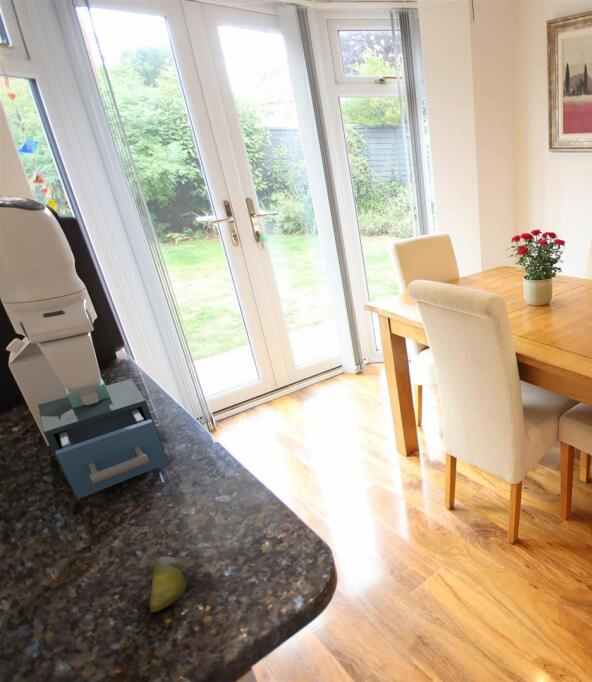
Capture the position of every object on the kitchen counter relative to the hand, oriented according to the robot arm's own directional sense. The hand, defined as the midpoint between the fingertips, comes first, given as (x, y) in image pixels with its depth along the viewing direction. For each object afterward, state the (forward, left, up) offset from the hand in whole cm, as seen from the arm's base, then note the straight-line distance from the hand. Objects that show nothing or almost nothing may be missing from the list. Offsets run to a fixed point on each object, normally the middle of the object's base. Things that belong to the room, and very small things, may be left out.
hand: (89, 397), depth 72 cm
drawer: (+5, -10, -9) cm, 14 cm away
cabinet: (+1, -1, -9) cm, 10 cm away
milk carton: (-9, +9, -10) cm, 16 cm away
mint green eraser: (0, 0, 0) cm, 0 cm away
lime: (+19, -36, -10) cm, 42 cm away
